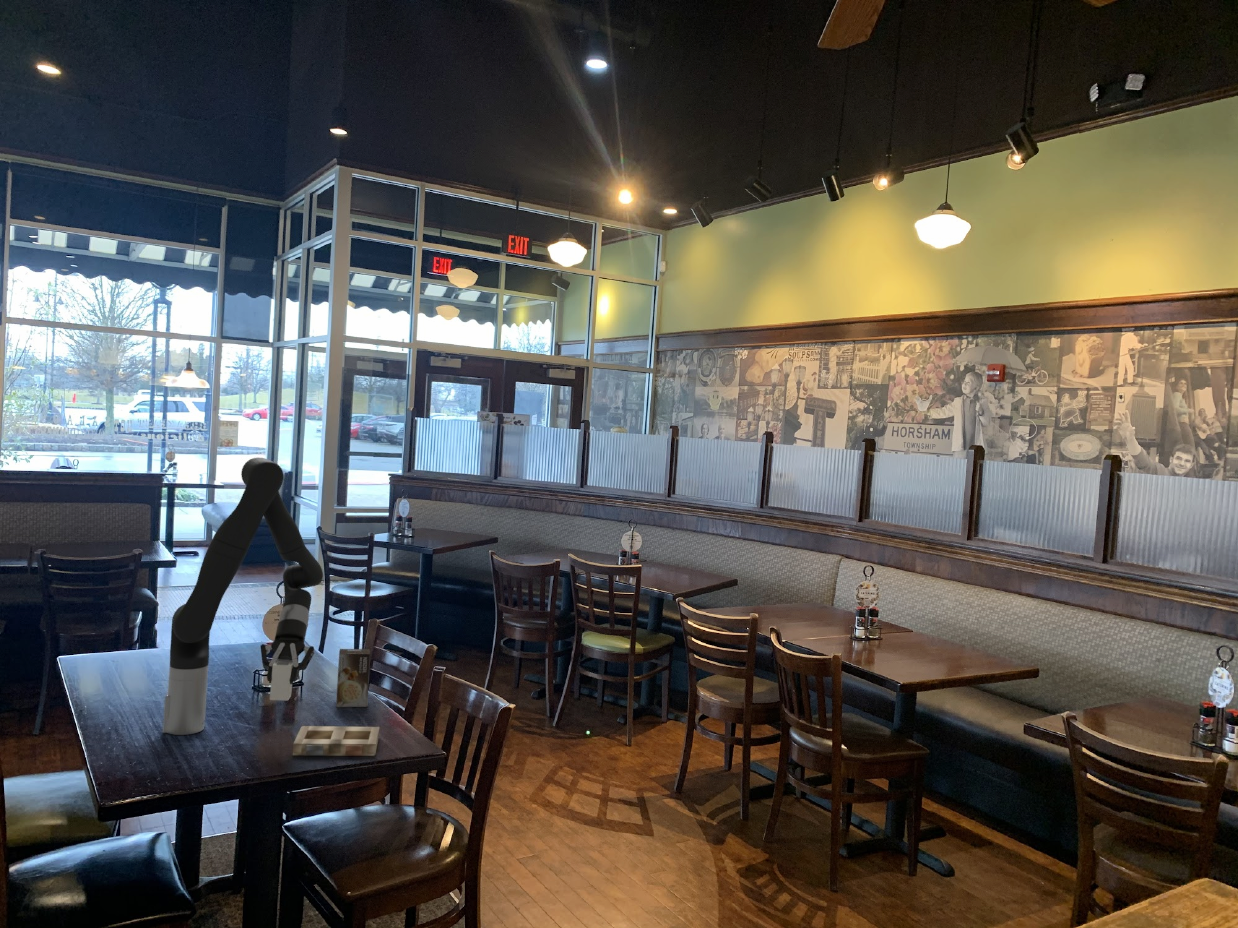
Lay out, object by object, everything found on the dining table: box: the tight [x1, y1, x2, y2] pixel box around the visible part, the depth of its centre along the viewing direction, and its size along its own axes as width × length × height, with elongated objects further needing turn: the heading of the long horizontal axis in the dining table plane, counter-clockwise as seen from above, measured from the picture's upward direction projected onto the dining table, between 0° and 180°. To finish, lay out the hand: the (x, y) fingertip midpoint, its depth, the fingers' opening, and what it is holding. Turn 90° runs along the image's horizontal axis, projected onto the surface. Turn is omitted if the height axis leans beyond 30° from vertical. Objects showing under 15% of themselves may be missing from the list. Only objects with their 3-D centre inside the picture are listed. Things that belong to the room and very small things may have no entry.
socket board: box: [292, 725, 380, 757], centre depth 226 cm, size 20×14×3 cm
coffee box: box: [335, 648, 371, 708], centre depth 261 cm, size 9×6×16 cm
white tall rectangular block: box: [269, 659, 293, 701], centre depth 225 cm, size 4×4×10 cm
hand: (280, 681), depth 223 cm, fingers closed on white tall rectangular block, 4 cm apart
